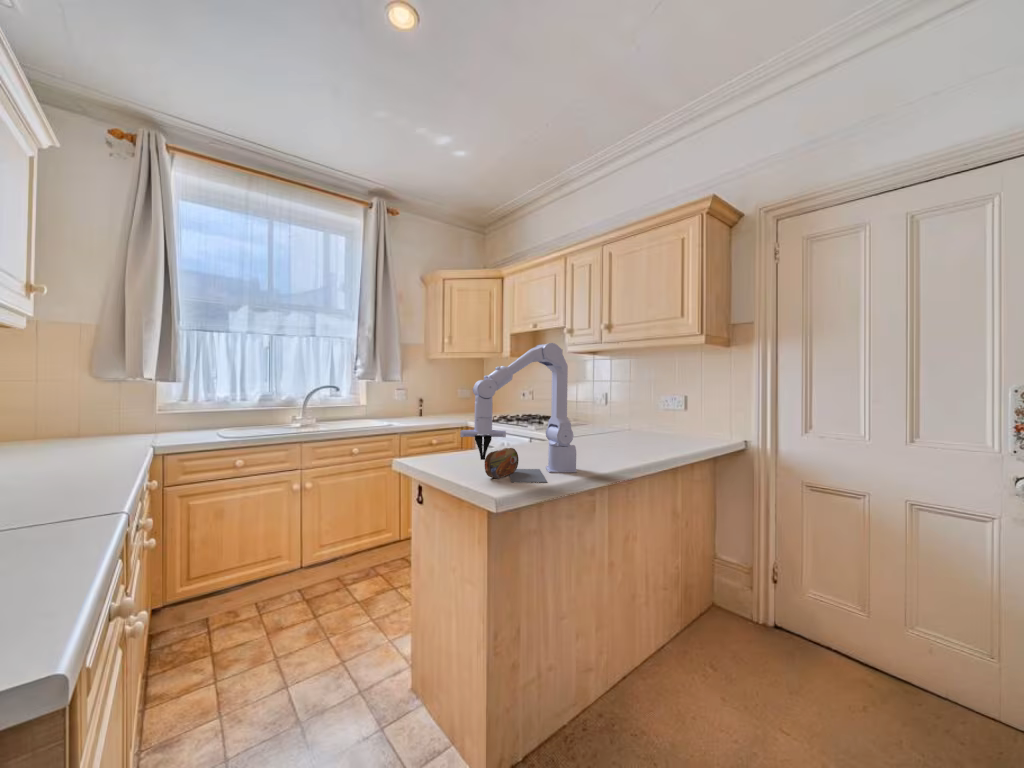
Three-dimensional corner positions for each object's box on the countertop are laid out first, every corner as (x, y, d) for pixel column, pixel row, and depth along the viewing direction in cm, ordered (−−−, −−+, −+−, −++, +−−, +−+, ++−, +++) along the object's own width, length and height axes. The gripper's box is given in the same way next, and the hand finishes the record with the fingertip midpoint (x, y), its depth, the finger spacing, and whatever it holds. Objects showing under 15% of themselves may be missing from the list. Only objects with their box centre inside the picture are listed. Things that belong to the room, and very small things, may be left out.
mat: (539, 469, 143) (539, 468, 143) (547, 482, 126) (547, 481, 126) (508, 469, 142) (508, 468, 142) (511, 482, 125) (511, 481, 125)
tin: (490, 481, 127) (490, 453, 127) (483, 479, 129) (482, 452, 128) (519, 471, 139) (519, 446, 139) (512, 469, 141) (511, 445, 140)
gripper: (505, 416, 137) (504, 456, 138) (461, 415, 136) (460, 456, 137) (506, 418, 130) (505, 461, 131) (460, 417, 129) (459, 461, 130)
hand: (482, 459), depth 133 cm, fingers closed
